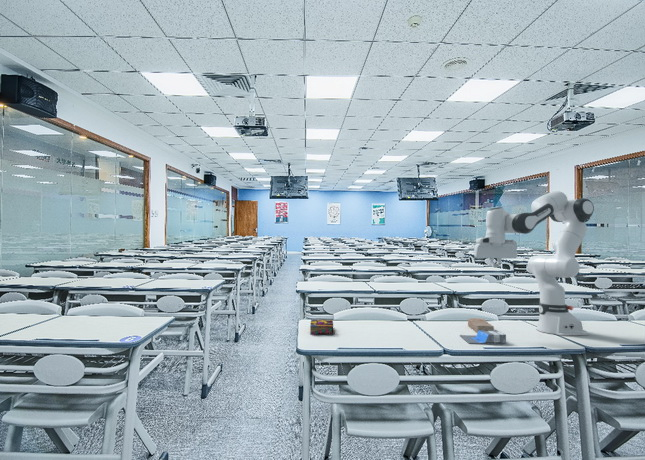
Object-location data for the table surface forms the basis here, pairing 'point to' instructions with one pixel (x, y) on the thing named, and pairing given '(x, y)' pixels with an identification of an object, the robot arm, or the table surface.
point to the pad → (471, 341)
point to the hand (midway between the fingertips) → (495, 267)
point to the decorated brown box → (321, 327)
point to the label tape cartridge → (490, 336)
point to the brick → (479, 324)
